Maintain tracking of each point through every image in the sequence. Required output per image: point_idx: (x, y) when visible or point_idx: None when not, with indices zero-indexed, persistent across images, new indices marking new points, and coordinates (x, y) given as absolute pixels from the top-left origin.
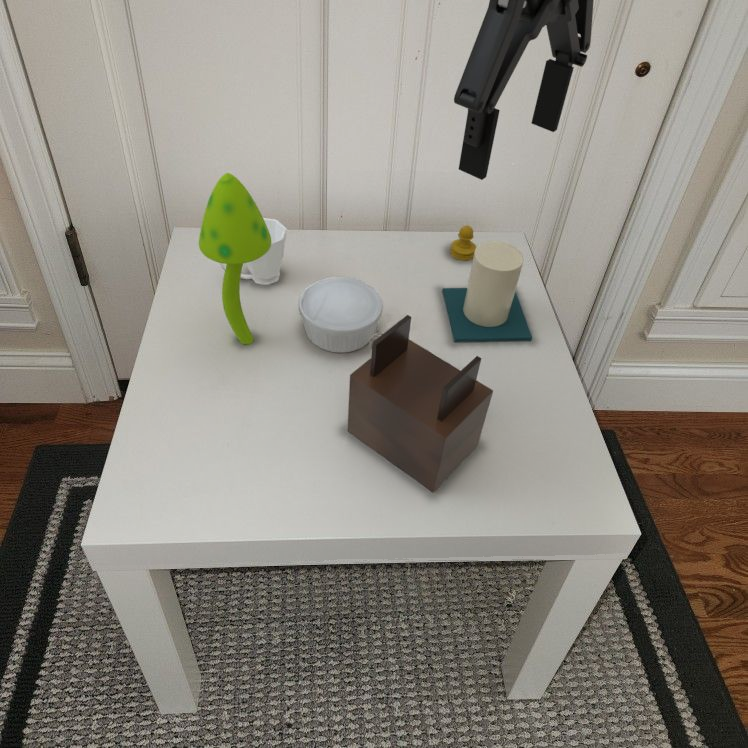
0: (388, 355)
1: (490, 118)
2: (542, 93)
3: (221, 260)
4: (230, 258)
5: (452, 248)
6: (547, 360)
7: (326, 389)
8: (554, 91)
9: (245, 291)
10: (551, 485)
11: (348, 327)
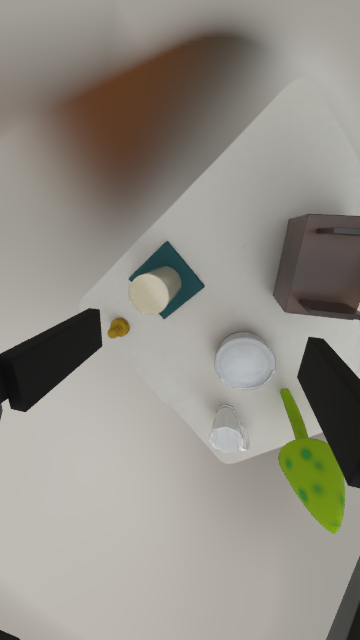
0: (333, 305)
1: None
2: (70, 365)
3: None
4: None
5: (125, 333)
6: (178, 220)
7: (297, 331)
8: (60, 351)
9: (246, 414)
10: (296, 149)
11: (265, 348)
